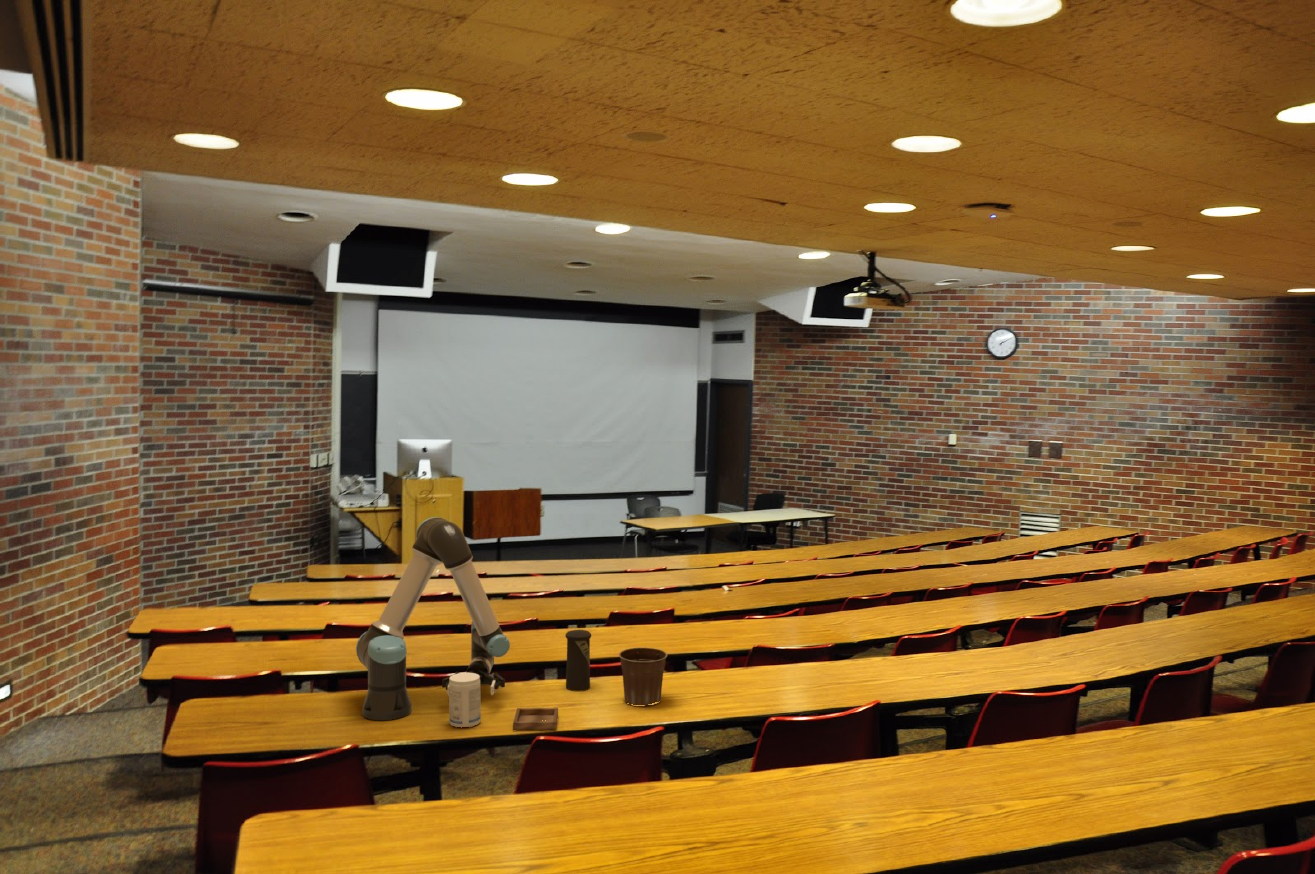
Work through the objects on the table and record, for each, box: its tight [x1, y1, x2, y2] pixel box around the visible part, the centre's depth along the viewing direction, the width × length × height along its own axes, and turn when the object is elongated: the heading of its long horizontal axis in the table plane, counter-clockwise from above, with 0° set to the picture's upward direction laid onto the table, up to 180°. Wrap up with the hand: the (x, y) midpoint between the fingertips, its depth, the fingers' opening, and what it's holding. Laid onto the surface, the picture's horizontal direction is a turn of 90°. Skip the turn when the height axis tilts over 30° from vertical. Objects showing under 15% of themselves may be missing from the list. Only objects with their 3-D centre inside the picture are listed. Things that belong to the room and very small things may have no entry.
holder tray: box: [512, 707, 559, 731], centre depth 288 cm, size 13×13×2 cm
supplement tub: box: [448, 672, 482, 729], centre depth 287 cm, size 10×10×15 cm
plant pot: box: [618, 647, 668, 706], centre depth 310 cm, size 16×16×16 cm
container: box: [565, 629, 592, 691], centre depth 323 cm, size 9×9×20 cm
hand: (470, 691), depth 294 cm, fingers open, 13 cm apart
